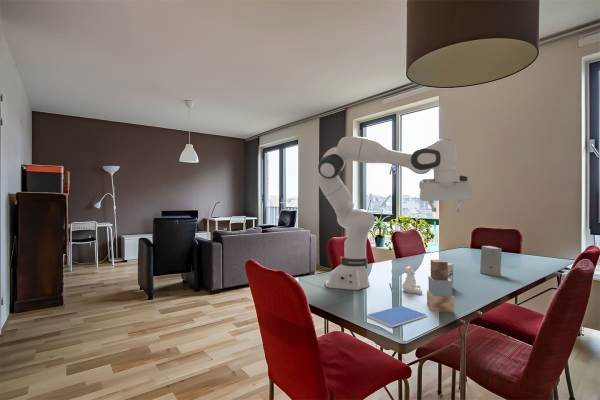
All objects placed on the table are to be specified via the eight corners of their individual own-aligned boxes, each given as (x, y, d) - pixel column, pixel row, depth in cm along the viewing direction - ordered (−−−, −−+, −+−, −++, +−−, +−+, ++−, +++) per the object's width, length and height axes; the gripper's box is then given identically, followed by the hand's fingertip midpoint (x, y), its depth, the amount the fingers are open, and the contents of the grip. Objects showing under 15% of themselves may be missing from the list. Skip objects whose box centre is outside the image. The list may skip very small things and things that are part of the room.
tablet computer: (401, 308, 124) (401, 304, 124) (428, 318, 113) (428, 314, 113) (365, 318, 114) (365, 314, 114) (392, 330, 103) (392, 326, 103)
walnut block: (434, 279, 120) (434, 262, 120) (430, 276, 125) (430, 259, 125) (447, 280, 119) (447, 262, 119) (443, 276, 124) (443, 259, 124)
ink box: (444, 290, 146) (443, 265, 146) (434, 287, 150) (434, 263, 150) (453, 287, 150) (453, 263, 150) (444, 285, 155) (444, 261, 155)
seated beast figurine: (423, 294, 139) (422, 268, 139) (403, 293, 141) (402, 267, 141) (419, 289, 148) (419, 264, 148) (401, 288, 150) (401, 263, 150)
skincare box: (479, 273, 179) (479, 246, 179) (489, 272, 181) (488, 245, 181) (492, 276, 171) (492, 248, 171) (502, 275, 173) (502, 247, 173)
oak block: (431, 311, 119) (431, 295, 119) (427, 304, 127) (426, 289, 127) (453, 312, 117) (453, 296, 117) (447, 305, 125) (447, 290, 125)
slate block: (433, 295, 119) (432, 280, 119) (428, 290, 126) (428, 276, 126) (452, 296, 118) (452, 281, 118) (446, 291, 125) (446, 276, 125)
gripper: (420, 178, 126) (421, 212, 126) (474, 177, 122) (475, 211, 122) (417, 179, 132) (418, 211, 132) (468, 178, 128) (469, 211, 128)
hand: (446, 211), depth 127 cm, fingers open, 8 cm apart
